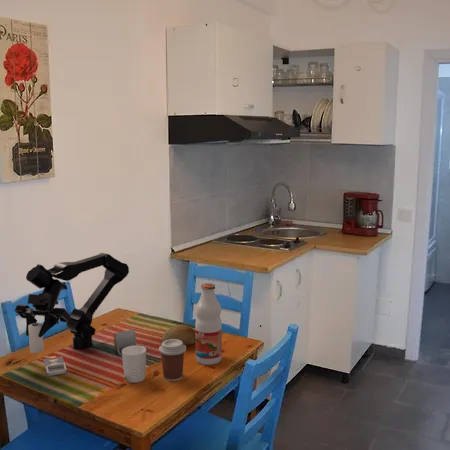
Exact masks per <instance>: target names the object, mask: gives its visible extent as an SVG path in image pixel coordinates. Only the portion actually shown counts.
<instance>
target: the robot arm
mask: <svg viewBox="0 0 450 450" xmlns="http://www.w3.org/2000/svg"><path fill="white" fill-rule="evenodd" d="M99 267H103V268H104V269H105V270H104V277H103V278H102V280H101V281H100V282H99V284H98V285H97V287H96V288H95V289H94V291H93V292H92V294H91V295H90V296H89V297H88V299H87V301H86V302H85V303H84V304H83V305H82V307H80V308H79V309H78V308H73V309H72V311H71V312H70V313H69V312H68V311H67V309H66V308H63V307H55V306H56V305H58V304H59V301H58V298H59V297H60V294H61V291H63V290H65V291H66V290H68V286H67V285H66V282H69V281H72V280H73V279H75V278H77V277H78V276H79V274H82V273H84V272H87V271H90V270H93V269H95V268H99ZM129 273H130V269H129V266H128V264H127V263H124V262H122V261H120V260H119V259H116V258H115V257H114V256H112V255H111V254H109V253H104V252H100V253H99V254H96V255H93V256H90V257H86V258H83V259H80V260H76V261H64V262H62V261H61V262H57V263H55V264H54V265H53V266H52V267H51V268H48V269H46V268H45V267H44V265H42V264H40V263H38V264H37V265H36V266H34V267H32V268H31V269H30V270H28V272H27V274H26V275H25V276H26V277H25V279H26V281H28V282H29V283H31V284H32V285H34V286H35V287H36V288H37V289H39V290H41V289H43V290H42V292H41V293H40V292H39V293H38V294H32V293H28V299H27V304H20V303H18V304H17V305H16V306H15V308H14V312H15V313H16V314H17V315H18V316H19V317H20V318H21V319H25V321H26V325H25V326H26V329H25V336H27V337H29V330H28V325H30V324H33V323H38V320H37V319H36V316H39V317H40V316H41V317H44V319H43V323H42V327H41V330H40V332H39V337H42V336H43V337H44V335H45V334H46V333H47V332H48V331H49V330H51V328H53V327H54V326H55V325H58V324H60V322H61V323H66V328H67V329H68V330H69V332H70V334H73V337H72V338H71V339H72V349H73V350H74V349H75V350H76V349H78V350H84V349H85V350H86V349H88V348H89V349H90V347H93V336H95V334H96V328H94V326H92V323H93V317H94V314H95V313H96V311H97V310H98V309H99V307H100V306H101V305H102V303H103V302H104V300H105V299H106V297H107V296H108V295H109V293H110V292H111V291H112V289H113V288H114V286H115V285H118V284H119V283H121V282H122V281H123V280H124V279H125V278H127V277H128V275H129ZM62 280H63V281H62ZM65 281H66V282H65ZM29 304H30V305H32V307H33V308H31V307H30V306H29Z"/></svg>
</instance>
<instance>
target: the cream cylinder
mask: <svg viewBox="0 0 450 450" xmlns="http://www.w3.org/2000/svg"><path fill="white" fill-rule="evenodd" d="M42 325H43V323H40V322H36V323H33V324H30V325H28V330H29V336H28V342H29V352H30V353H31V354H39V353H43V351H44V350H45V349H44V348H45V347H44V335H43V336H42V337H39V332H40V330H41V327H42Z"/></svg>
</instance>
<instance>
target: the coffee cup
mask: <svg viewBox="0 0 450 450" xmlns="http://www.w3.org/2000/svg"><path fill="white" fill-rule="evenodd" d="M186 351H187V345H186V346H185V345H184V344H183V342H182V341H181V340H177V339H170V340H166V341H164V342H162V345H160V346H159V347H158V352H159V354H160V355H161V366H162V367H161V368H162V373H163V379H164V380H165V381H167V382H176V381H180V380H182V379H183V377H184V375H183V373H184V361H185V359H184V357H185V352H186Z"/></svg>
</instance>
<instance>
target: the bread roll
mask: <svg viewBox="0 0 450 450" xmlns="http://www.w3.org/2000/svg"><path fill="white" fill-rule="evenodd" d="M170 339H177V340H181V341H182V342H183V344H184V345H185V346H186V347H187V346H190V345H193V344H196V336H195V329H194V328H193V327H191V326H189V325H187V324H178V325H173V326H170V327H169V328H167V330H165V332H164V333H163V335H162V338H161V341H160V342H161V343H160V344H161V345H162V342H164V341H166V340H170ZM161 345H160V346H161Z"/></svg>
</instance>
